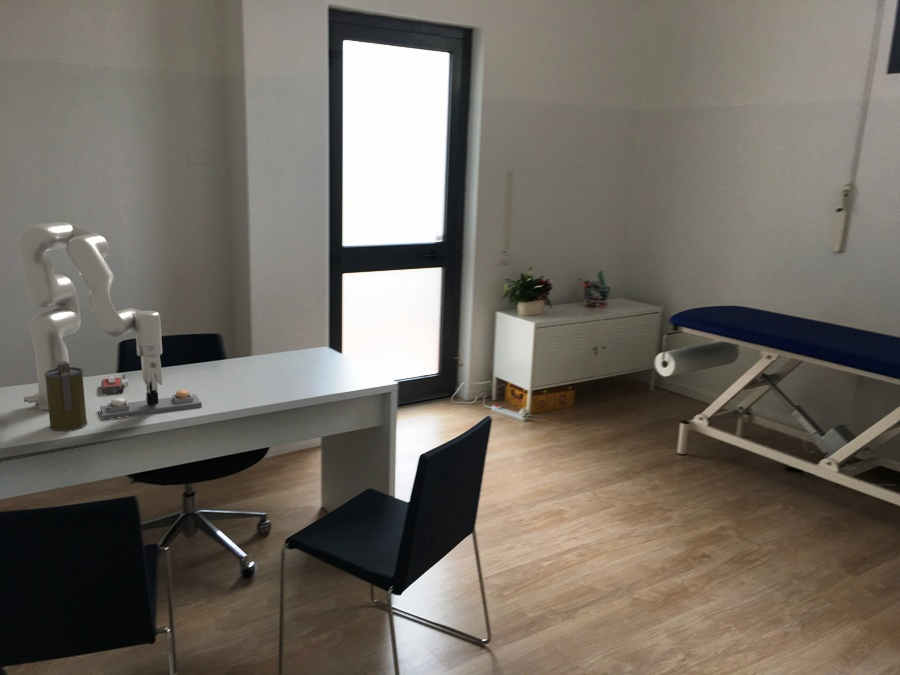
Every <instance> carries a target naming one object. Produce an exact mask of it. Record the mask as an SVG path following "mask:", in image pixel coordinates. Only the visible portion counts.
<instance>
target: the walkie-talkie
mask: <svg viewBox="0 0 900 675" xmlns="http://www.w3.org/2000/svg"><path fill="white" fill-rule="evenodd" d="M100 384H101V388H102V389H101V392H102V395H103V394H108V395H115V394H114V393H118V394H122V393H121V392H123V393H124V391H125V389H126V387H127V388H128V387H129V379H128V378H126V374H122V378H121V377H116V375H108V377H107V378H104V379H101V383H100Z"/></svg>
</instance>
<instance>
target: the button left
mask: <svg viewBox="0 0 900 675" xmlns="http://www.w3.org/2000/svg"><path fill="white" fill-rule="evenodd" d="M125 401H126V399H125V398H124V397H116V398H112V399H111V402H110V403H112V407H118V406H124V405H125Z"/></svg>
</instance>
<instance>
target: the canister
mask: <svg viewBox="0 0 900 675" xmlns="http://www.w3.org/2000/svg"><path fill="white" fill-rule="evenodd" d="M57 365H58V368H57V367H56V368H55V369H51V370H48V371H46V372H45V373H44V375H45V377H46V387H47V397H48V408H49V410H48V415H49V417H48V419H49V429H50V430H51V431H54V432H70V430H72V431H76V430H75V429H77V430H80V429H82V427H83V428H85V427H86V426H87V425H88V424H87V423H88V421H87V411H86V410H87V409H86V399H85V389H84V378H83V377H84V376H83V375H84V374H83V373H84V370H83V368H81V367H75V366H70V362H69V363H68V362H67V361H63V362H58V363H57ZM84 426H85V427H84ZM79 428H80V429H79Z"/></svg>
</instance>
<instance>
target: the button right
mask: <svg viewBox="0 0 900 675" xmlns="http://www.w3.org/2000/svg"><path fill="white" fill-rule="evenodd" d="M189 393H190V391H189V390H186V389H181V390H177V391H176V393H175V395H176V398H178V399H181V398H188V397H189Z"/></svg>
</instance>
